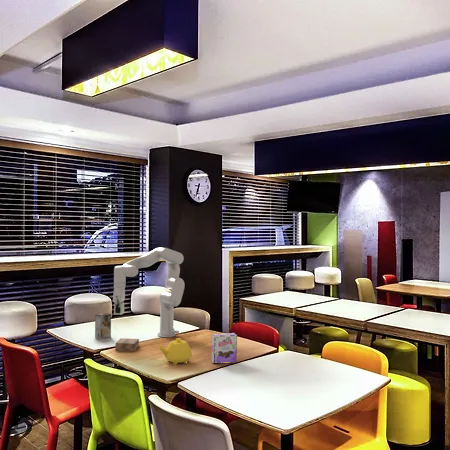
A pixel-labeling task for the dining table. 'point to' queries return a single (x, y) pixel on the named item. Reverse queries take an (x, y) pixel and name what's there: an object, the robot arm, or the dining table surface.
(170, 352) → the teapot
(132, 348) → the block
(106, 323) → the coffee box
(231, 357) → the candy box
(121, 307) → the sage block
